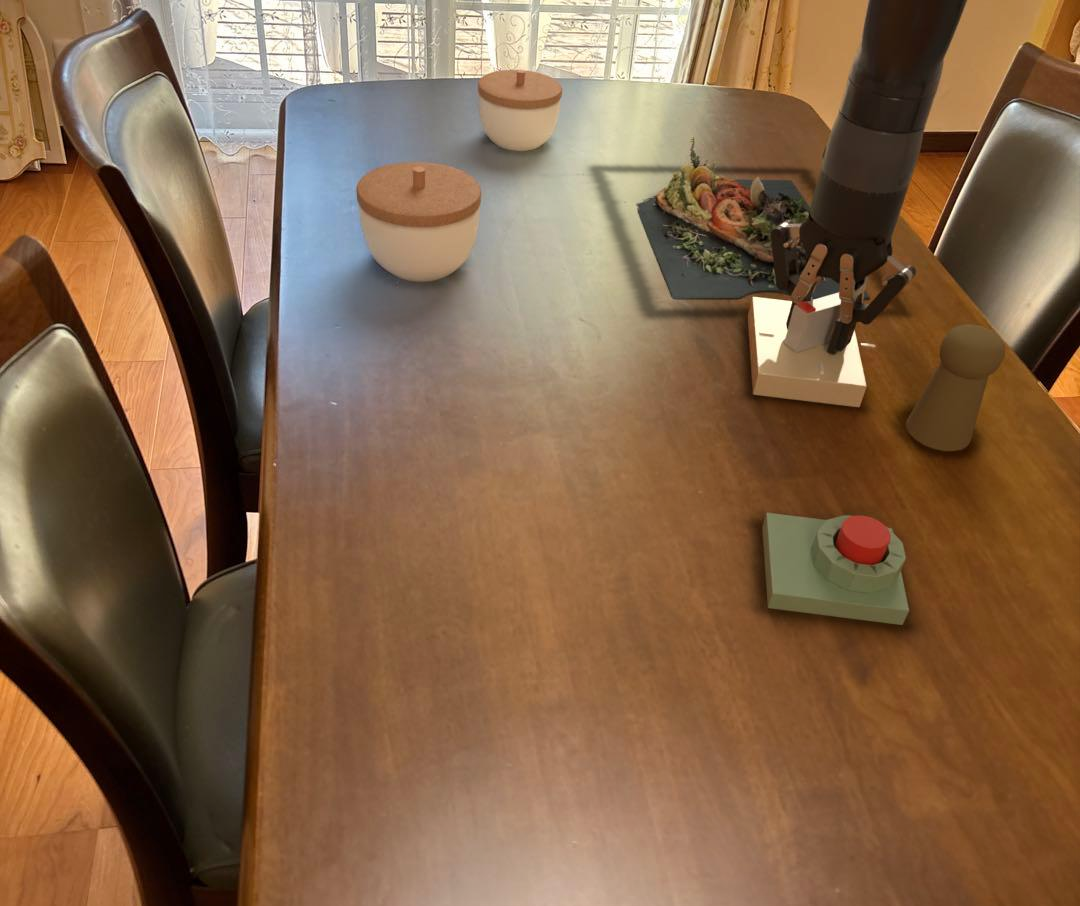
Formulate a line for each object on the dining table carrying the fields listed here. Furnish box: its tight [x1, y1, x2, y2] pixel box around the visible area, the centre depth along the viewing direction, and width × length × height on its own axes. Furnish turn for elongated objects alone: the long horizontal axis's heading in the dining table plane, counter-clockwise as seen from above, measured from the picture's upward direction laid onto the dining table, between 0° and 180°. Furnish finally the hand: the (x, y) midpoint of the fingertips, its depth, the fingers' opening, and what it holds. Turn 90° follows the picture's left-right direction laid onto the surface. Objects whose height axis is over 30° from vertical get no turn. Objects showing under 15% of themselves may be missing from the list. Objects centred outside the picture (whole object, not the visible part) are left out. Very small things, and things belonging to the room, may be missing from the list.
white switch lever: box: [784, 293, 841, 353], centre depth 98 cm, size 7×2×4 cm, turn 121°
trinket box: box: [477, 69, 563, 152], centre depth 132 cm, size 11×11×9 cm
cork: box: [905, 323, 1006, 452], centre depth 90 cm, size 6×6×11 cm
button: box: [836, 515, 891, 565], centre depth 76 cm, size 4×4×2 cm
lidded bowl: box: [356, 161, 482, 283], centre depth 106 cm, size 13×13×11 cm
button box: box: [761, 512, 910, 626], centre depth 78 cm, size 10×9×4 cm
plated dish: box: [635, 137, 871, 301], centre depth 117 cm, size 35×28×7 cm
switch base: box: [747, 296, 876, 408], centre depth 100 cm, size 12×14×3 cm
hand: (815, 341), depth 99 cm, fingers open, 3 cm apart
